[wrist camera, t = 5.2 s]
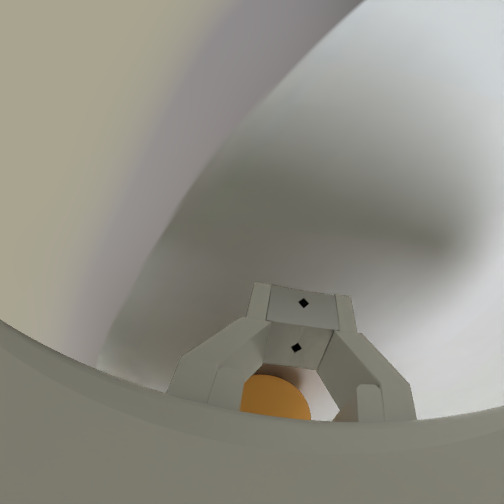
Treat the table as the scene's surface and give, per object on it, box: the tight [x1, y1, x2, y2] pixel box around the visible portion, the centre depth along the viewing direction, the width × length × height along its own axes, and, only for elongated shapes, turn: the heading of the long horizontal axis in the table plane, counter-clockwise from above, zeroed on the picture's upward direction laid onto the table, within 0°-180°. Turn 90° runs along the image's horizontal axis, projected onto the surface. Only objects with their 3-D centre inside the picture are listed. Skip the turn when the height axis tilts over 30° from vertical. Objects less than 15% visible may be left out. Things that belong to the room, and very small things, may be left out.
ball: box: [240, 375, 311, 420], centre depth 15 cm, size 6×6×6 cm
